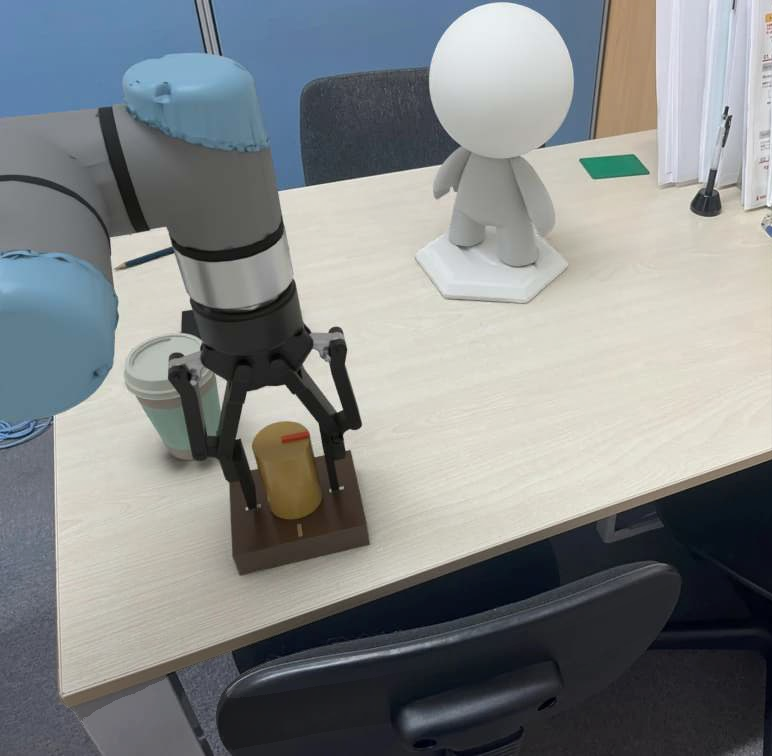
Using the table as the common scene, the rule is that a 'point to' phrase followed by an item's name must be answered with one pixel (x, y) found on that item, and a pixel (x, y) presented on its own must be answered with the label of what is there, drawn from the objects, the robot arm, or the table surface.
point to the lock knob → (288, 469)
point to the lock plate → (298, 523)
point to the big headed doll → (497, 152)
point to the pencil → (146, 258)
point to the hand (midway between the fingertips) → (293, 488)
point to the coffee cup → (169, 389)
